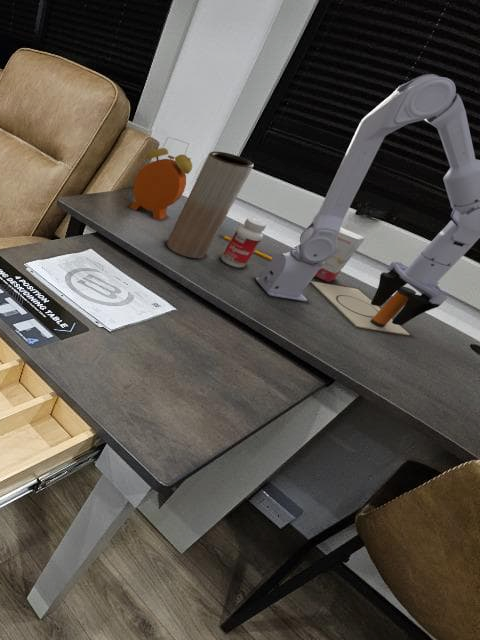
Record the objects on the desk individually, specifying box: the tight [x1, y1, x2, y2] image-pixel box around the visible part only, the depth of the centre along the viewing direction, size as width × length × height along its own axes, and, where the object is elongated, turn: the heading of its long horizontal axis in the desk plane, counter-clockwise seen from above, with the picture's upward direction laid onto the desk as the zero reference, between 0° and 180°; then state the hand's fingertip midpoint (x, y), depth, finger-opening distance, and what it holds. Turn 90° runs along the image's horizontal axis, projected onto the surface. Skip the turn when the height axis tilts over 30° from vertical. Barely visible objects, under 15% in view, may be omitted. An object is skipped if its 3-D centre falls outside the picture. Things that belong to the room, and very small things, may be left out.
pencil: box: [222, 235, 273, 261], centre depth 126 cm, size 1×18×1 cm, turn 39°
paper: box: [310, 280, 411, 336], centre depth 109 cm, size 13×20×1 cm, turn 177°
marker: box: [370, 286, 417, 327], centre depth 100 cm, size 3×3×9 cm
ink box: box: [314, 226, 366, 283], centre depth 117 cm, size 9×5×12 cm, turn 33°
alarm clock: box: [129, 136, 193, 221], centre depth 130 cm, size 13×6×20 cm, turn 49°
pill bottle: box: [220, 217, 267, 269], centre depth 114 cm, size 6×6×11 cm
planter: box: [166, 150, 254, 259], centre depth 111 cm, size 10×10×23 cm
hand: (385, 314), depth 102 cm, fingers open, 7 cm apart
